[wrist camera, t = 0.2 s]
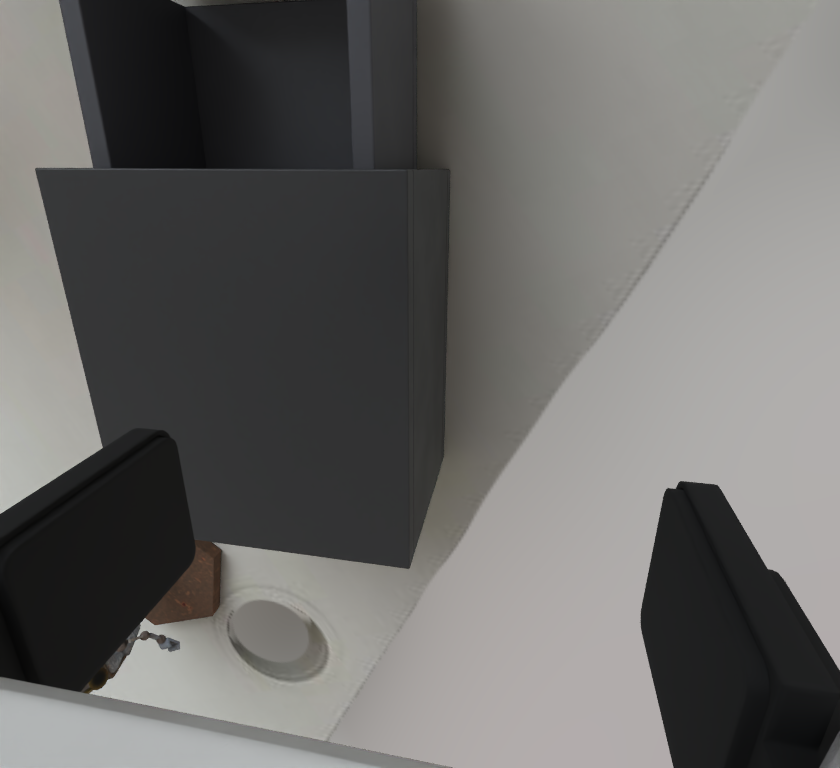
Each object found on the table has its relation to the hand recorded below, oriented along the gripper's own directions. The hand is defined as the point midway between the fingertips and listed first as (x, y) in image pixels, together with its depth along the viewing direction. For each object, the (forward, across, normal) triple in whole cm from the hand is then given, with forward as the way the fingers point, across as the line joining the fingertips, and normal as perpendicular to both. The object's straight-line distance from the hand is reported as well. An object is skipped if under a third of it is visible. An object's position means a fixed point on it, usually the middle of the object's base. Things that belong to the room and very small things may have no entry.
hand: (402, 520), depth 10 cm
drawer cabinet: (+19, +9, +2) cm, 21 cm away
